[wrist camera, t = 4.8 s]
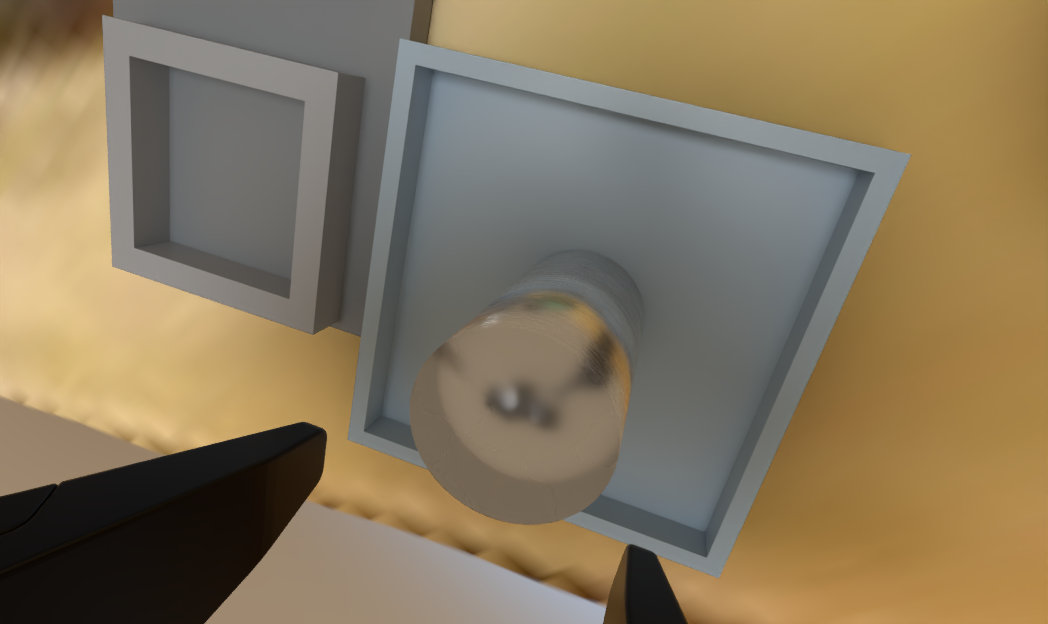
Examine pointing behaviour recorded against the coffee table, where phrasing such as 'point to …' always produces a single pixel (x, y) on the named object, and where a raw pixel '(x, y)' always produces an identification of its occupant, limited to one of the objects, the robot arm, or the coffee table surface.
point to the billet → (534, 392)
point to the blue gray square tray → (638, 247)
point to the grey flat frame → (253, 147)
